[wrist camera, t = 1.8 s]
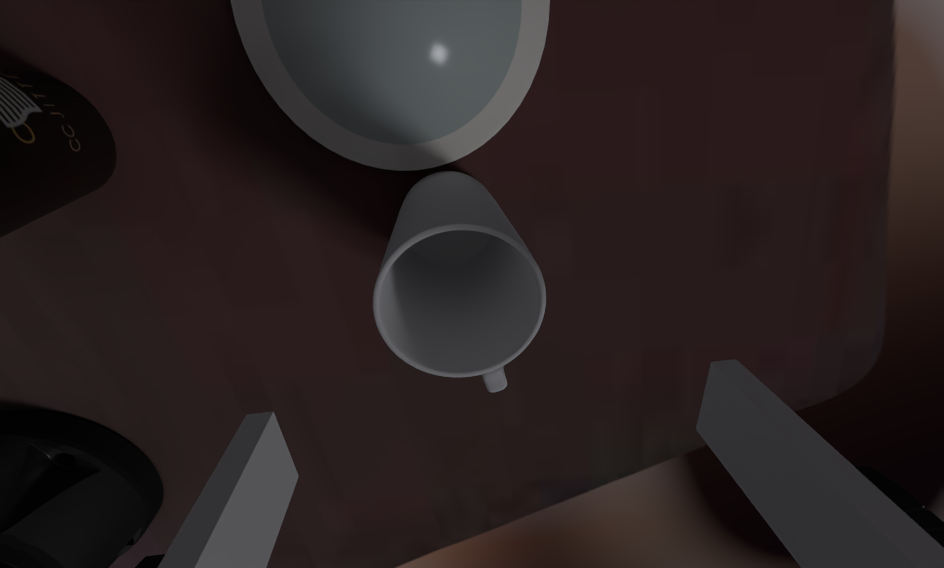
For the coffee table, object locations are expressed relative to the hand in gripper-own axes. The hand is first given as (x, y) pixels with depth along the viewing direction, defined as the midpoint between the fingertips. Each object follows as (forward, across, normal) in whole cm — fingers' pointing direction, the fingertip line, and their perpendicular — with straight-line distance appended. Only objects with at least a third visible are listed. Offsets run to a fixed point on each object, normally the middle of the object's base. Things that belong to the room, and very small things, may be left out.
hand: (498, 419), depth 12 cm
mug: (+17, 0, 0) cm, 17 cm away
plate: (+16, -2, +13) cm, 21 cm away
